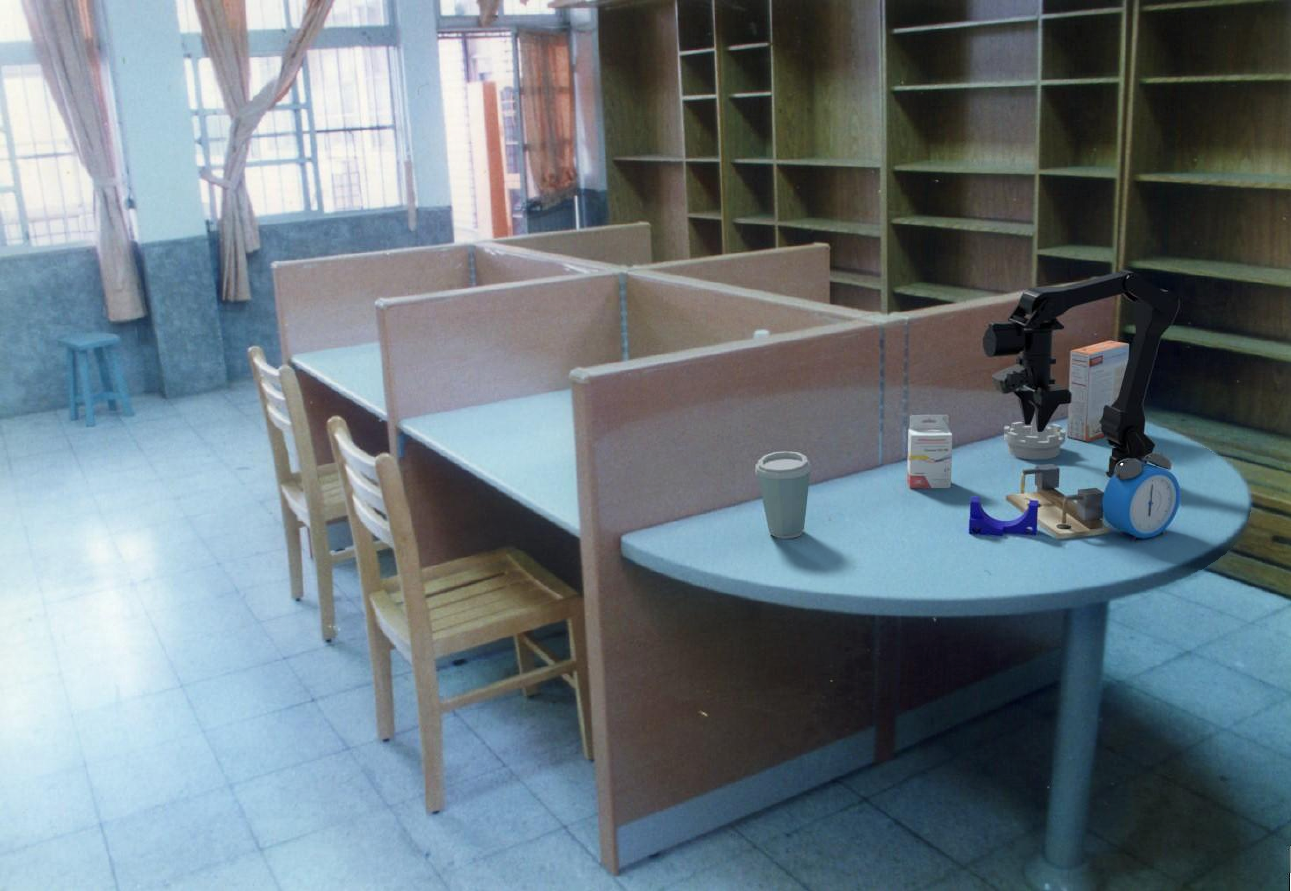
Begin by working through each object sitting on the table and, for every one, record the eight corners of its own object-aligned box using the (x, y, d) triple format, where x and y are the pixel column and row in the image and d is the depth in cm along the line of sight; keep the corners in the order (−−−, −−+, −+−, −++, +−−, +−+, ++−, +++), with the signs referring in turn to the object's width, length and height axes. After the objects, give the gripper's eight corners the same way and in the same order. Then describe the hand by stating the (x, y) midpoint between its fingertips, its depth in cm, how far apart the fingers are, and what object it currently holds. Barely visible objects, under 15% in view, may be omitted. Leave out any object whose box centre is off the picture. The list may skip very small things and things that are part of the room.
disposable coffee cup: (807, 545, 220) (806, 468, 216) (751, 541, 224) (748, 466, 219) (816, 524, 230) (815, 451, 226) (762, 521, 233) (760, 449, 229)
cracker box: (1103, 425, 282) (1108, 339, 275) (1125, 430, 277) (1131, 343, 270) (1064, 437, 274) (1069, 349, 268) (1086, 443, 270) (1091, 353, 263)
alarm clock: (1123, 546, 212) (1129, 466, 208) (1098, 535, 218) (1103, 457, 213) (1178, 532, 217) (1185, 454, 212) (1152, 522, 222) (1158, 445, 218)
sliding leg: (1051, 487, 238) (1052, 463, 236) (1058, 492, 235) (1059, 468, 233) (1017, 491, 237) (1018, 467, 235) (1024, 495, 234) (1025, 471, 233)
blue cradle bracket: (968, 534, 222) (969, 504, 220) (970, 526, 226) (971, 496, 224) (1036, 539, 218) (1037, 508, 216) (1036, 530, 222) (1038, 500, 220)
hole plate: (1053, 494, 239) (1054, 459, 237) (1109, 533, 218) (1112, 495, 216) (1005, 499, 238) (1007, 464, 235) (1058, 539, 217) (1060, 500, 215)
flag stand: (1072, 459, 259) (1080, 324, 250) (1012, 462, 260) (1018, 327, 251) (1053, 442, 272) (1060, 312, 263) (996, 444, 272) (1001, 315, 263)
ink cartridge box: (909, 489, 247) (910, 421, 242) (906, 481, 251) (907, 414, 247) (951, 488, 246) (953, 420, 241) (948, 480, 250) (949, 413, 246)
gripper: (978, 346, 242) (976, 419, 247) (1019, 366, 224) (1016, 445, 229) (1030, 341, 244) (1027, 414, 248) (1074, 361, 226) (1070, 439, 231)
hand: (1033, 428), depth 239 cm, fingers open, 5 cm apart
